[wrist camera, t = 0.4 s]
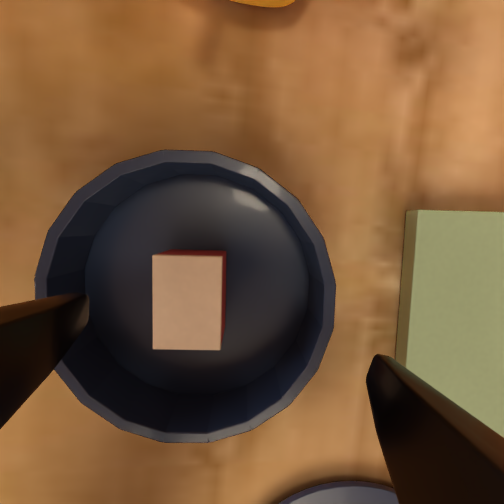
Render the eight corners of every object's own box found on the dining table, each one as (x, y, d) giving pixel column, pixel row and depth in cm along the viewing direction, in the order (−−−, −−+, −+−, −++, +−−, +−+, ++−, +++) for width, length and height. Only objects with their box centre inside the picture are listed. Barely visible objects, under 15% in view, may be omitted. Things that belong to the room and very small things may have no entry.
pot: (311, 400, 22) (327, 444, 18) (82, 397, 22) (40, 442, 17) (322, 170, 21) (343, 155, 16) (75, 162, 20) (27, 144, 16)
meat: (225, 327, 21) (220, 350, 17) (170, 326, 21) (152, 349, 17) (226, 250, 21) (222, 256, 17) (170, 249, 20) (151, 255, 16)
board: (512, 441, 23) (531, 457, 22) (388, 441, 23) (398, 456, 21) (539, 214, 21) (561, 213, 20) (405, 210, 21) (418, 209, 20)
